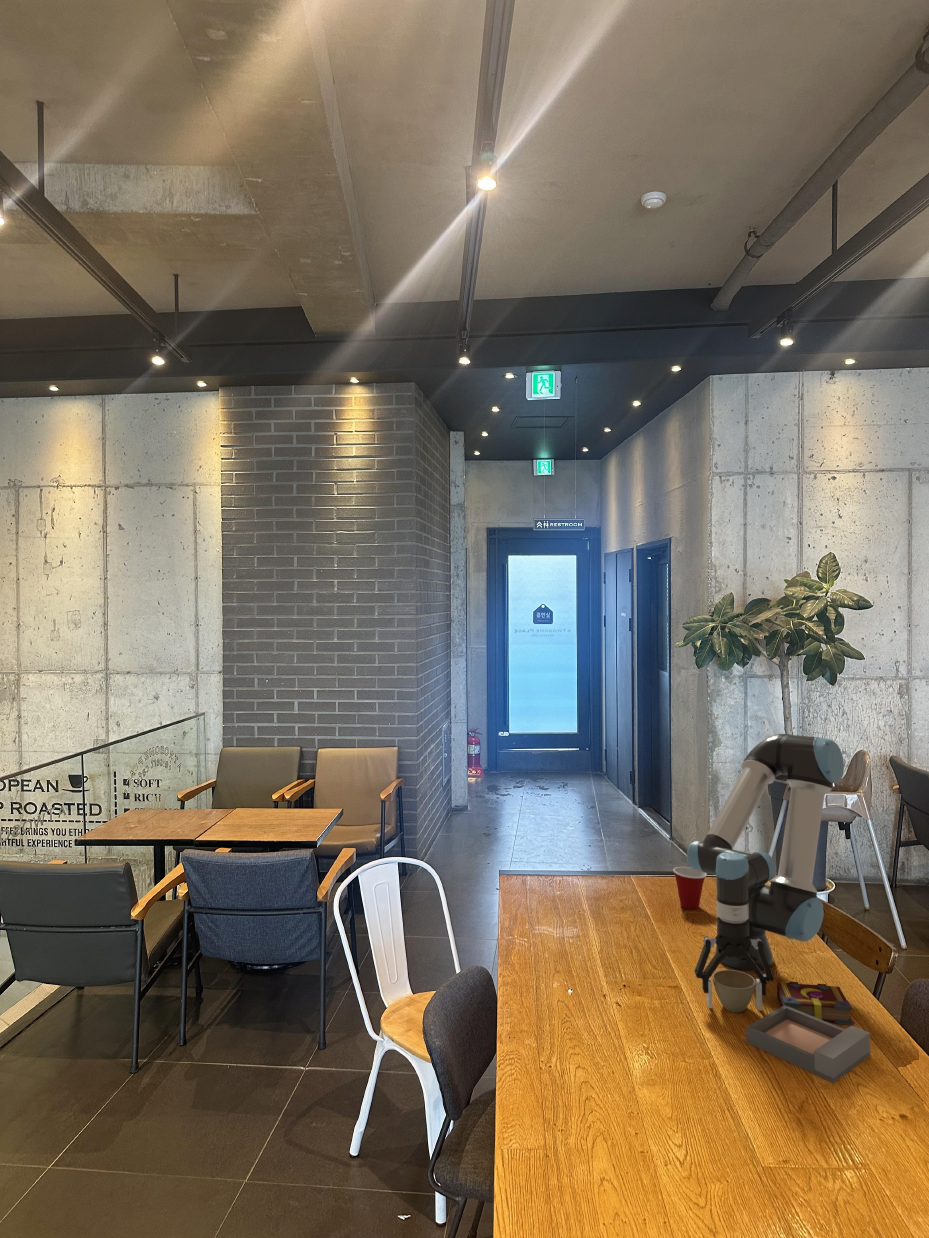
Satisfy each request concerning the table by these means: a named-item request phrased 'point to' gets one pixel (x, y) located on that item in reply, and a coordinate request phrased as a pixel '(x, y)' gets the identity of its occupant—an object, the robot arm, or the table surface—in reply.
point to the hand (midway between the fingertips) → (734, 1006)
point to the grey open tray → (810, 1042)
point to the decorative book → (816, 1001)
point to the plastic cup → (689, 886)
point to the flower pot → (734, 989)
